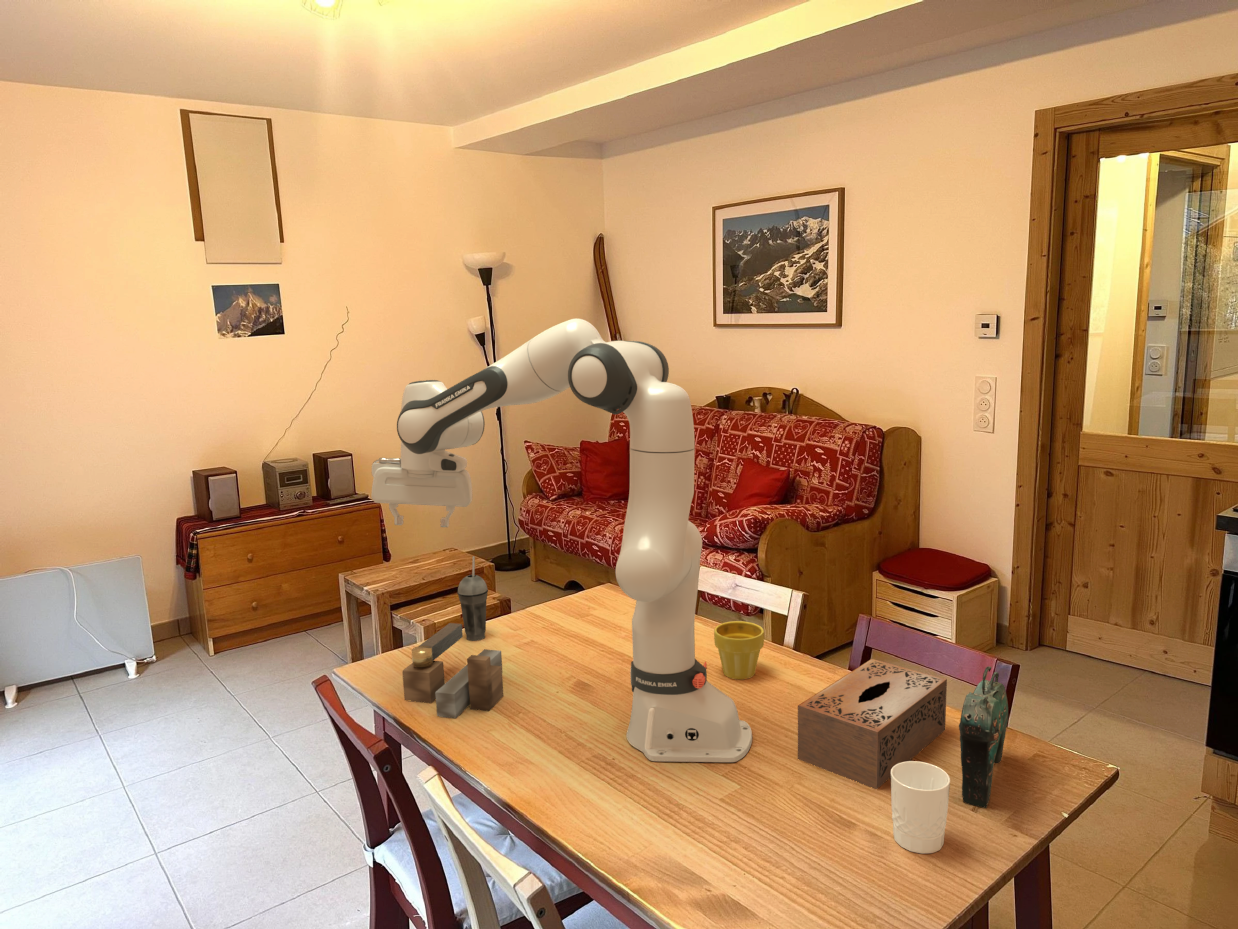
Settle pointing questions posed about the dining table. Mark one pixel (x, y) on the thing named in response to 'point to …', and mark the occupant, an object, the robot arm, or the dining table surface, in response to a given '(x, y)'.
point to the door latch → (457, 684)
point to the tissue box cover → (871, 721)
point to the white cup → (919, 805)
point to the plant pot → (739, 647)
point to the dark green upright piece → (982, 738)
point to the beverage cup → (473, 605)
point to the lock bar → (436, 645)
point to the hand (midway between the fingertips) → (421, 525)
